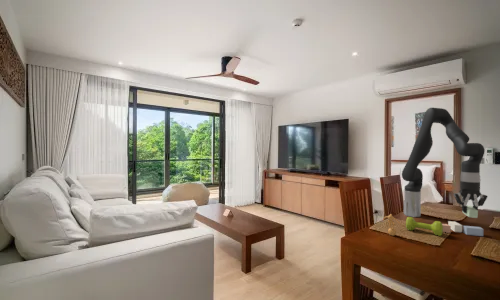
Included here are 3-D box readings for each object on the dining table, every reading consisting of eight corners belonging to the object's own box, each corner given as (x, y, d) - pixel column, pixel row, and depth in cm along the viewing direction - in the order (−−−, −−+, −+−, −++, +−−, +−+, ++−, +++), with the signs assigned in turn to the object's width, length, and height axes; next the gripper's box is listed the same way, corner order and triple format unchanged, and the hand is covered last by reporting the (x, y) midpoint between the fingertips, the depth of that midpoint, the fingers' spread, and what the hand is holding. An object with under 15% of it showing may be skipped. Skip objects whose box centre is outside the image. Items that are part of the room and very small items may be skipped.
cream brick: (454, 232, 128) (454, 224, 128) (448, 227, 135) (448, 221, 135) (462, 232, 127) (462, 225, 127) (455, 228, 134) (455, 221, 134)
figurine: (402, 236, 122) (402, 214, 122) (398, 239, 118) (398, 216, 118) (385, 232, 128) (385, 211, 128) (381, 234, 125) (381, 213, 124)
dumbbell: (442, 233, 126) (442, 220, 126) (442, 238, 120) (442, 224, 120) (407, 227, 137) (406, 215, 137) (405, 230, 131) (405, 218, 131)
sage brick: (469, 217, 119) (469, 209, 118) (462, 212, 125) (462, 205, 125) (477, 217, 117) (478, 210, 117) (470, 212, 124) (470, 205, 123)
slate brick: (466, 234, 124) (466, 227, 124) (463, 232, 127) (463, 225, 127) (483, 236, 122) (483, 229, 122) (479, 234, 125) (479, 227, 125)
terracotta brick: (435, 231, 129) (435, 224, 129) (432, 229, 132) (432, 222, 132) (450, 233, 127) (450, 226, 127) (447, 231, 130) (447, 224, 130)
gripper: (483, 180, 122) (482, 212, 122) (450, 179, 127) (449, 209, 127) (492, 182, 115) (491, 216, 115) (456, 181, 120) (456, 213, 120)
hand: (469, 212), depth 121 cm, fingers closed on sage brick, 3 cm apart
